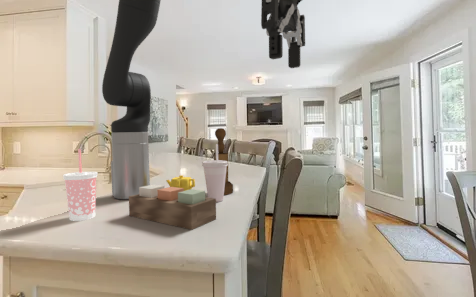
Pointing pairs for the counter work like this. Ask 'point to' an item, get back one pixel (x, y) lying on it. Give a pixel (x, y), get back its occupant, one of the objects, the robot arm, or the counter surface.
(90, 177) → the beverage cup
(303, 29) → the robot arm
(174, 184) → the teapot
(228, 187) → the mortar and pestle
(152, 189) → the offwhite key
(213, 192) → the smoothie
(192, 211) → the key panel
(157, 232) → the counter surface
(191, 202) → the sage key
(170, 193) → the terracotta key
